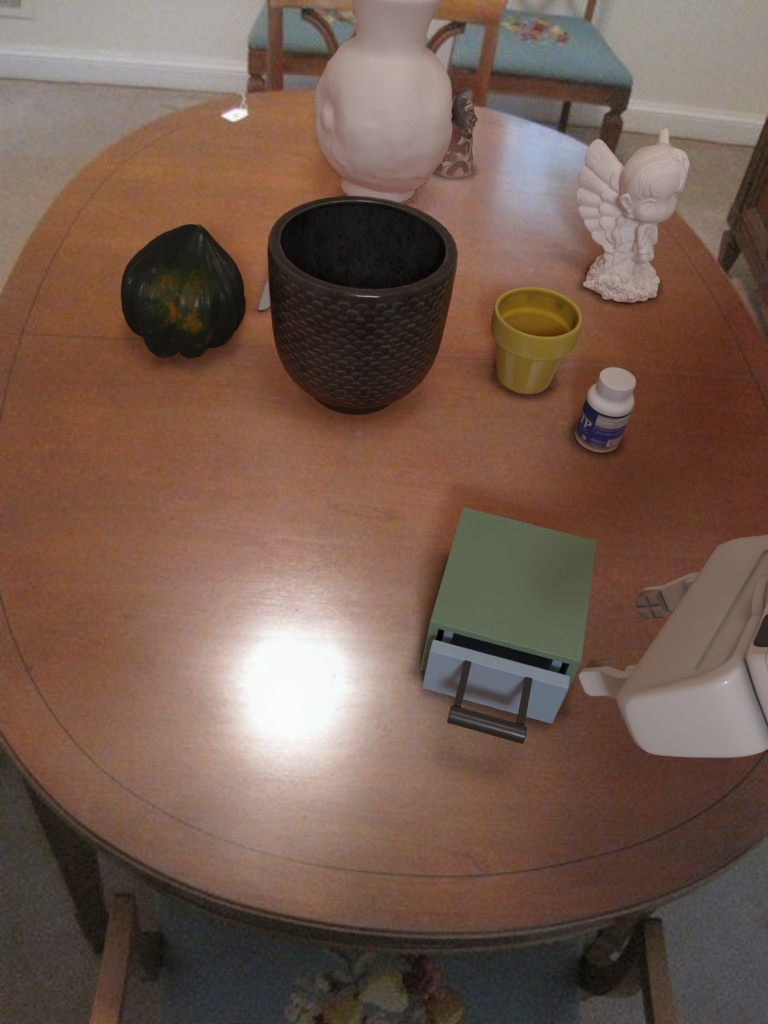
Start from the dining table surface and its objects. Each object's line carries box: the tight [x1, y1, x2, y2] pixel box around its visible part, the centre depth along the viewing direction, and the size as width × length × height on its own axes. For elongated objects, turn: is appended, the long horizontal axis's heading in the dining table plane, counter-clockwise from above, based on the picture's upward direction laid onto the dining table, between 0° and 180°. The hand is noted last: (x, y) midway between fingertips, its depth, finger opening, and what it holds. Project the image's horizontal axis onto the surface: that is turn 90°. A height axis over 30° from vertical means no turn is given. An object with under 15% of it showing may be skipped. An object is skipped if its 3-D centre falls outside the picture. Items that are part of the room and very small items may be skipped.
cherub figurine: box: [575, 127, 691, 303], centre depth 116 cm, size 13×12×20 cm
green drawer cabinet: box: [419, 506, 598, 710], centre depth 77 cm, size 14×13×8 cm
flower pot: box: [490, 286, 584, 395], centre depth 103 cm, size 10×10×10 cm
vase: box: [313, 0, 453, 203], centre depth 124 cm, size 19×21×30 cm
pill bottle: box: [574, 366, 637, 454], centre depth 96 cm, size 5×5×9 cm
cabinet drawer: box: [421, 631, 570, 745], centre depth 74 cm, size 18×11×6 cm, turn 165°
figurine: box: [433, 92, 479, 179], centre depth 138 cm, size 7×7×12 cm
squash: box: [120, 223, 247, 360], centre depth 102 cm, size 14×15×15 cm
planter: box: [266, 195, 459, 416], centre depth 95 cm, size 20×20×19 cm
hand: (614, 638), depth 58 cm, fingers open, 8 cm apart
